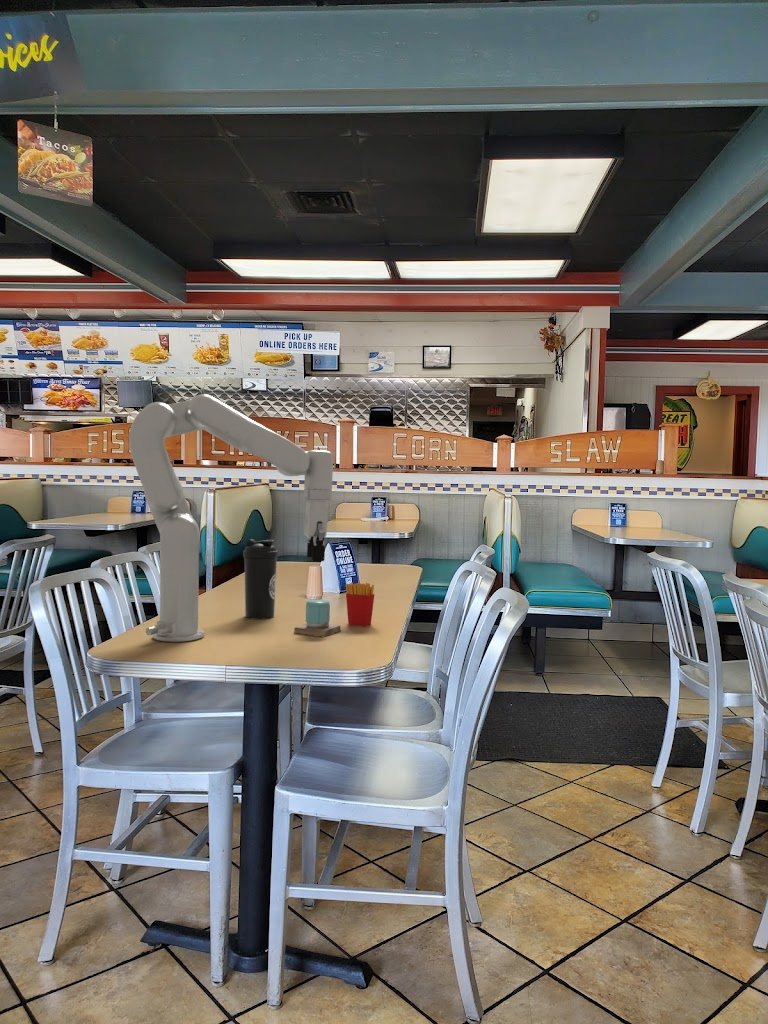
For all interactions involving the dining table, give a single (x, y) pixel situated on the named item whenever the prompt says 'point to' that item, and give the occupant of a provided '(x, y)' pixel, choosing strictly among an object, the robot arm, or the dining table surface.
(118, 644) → the dining table surface
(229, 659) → the dining table surface
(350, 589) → the french fries
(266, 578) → the water bottle
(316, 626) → the post stand
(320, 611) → the cap
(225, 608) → the dining table surface
